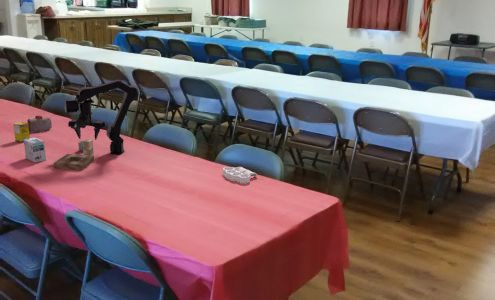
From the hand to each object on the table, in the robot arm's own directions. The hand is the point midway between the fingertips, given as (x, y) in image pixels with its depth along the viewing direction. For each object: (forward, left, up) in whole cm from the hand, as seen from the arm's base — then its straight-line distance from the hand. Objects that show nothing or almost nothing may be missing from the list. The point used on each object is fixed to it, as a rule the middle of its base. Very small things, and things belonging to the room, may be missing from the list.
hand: (87, 139), depth 288 cm
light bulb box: (+25, +11, -10) cm, 29 cm away
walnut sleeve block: (+1, +15, -10) cm, 18 cm away
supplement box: (+50, -19, -10) cm, 54 cm away
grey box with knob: (+52, -43, -10) cm, 68 cm away
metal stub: (+7, -9, -10) cm, 15 cm away
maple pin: (0, 0, -10) cm, 10 cm away
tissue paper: (-86, +17, -10) cm, 88 cm away
